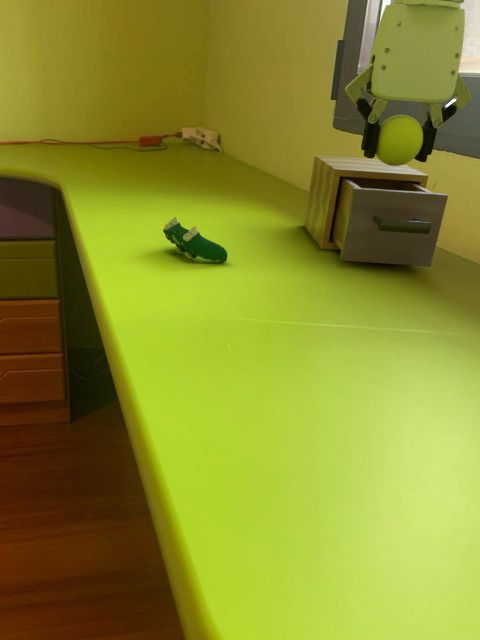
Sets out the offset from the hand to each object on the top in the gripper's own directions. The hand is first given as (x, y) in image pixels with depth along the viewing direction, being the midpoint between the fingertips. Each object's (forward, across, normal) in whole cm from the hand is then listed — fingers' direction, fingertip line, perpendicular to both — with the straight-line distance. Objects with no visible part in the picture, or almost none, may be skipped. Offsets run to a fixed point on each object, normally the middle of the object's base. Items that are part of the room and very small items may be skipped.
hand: (394, 157), depth 88 cm
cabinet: (+13, 0, -12) cm, 18 cm away
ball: (-2, 0, 0) cm, 2 cm away
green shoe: (+13, +25, +4) cm, 29 cm away
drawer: (+12, 0, +1) cm, 12 cm away
